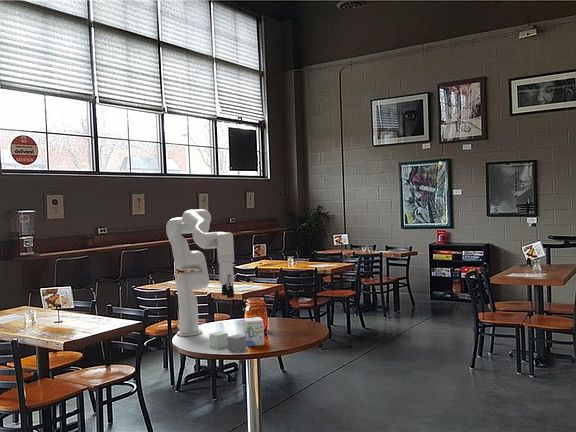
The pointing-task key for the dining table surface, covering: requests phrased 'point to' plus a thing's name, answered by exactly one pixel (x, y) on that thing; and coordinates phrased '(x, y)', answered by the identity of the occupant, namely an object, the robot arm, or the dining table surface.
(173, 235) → the robot arm
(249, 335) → the ink box
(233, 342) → the slate block
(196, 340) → the dining table surface
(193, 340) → the dining table surface
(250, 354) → the dining table surface
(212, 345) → the sage block
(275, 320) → the dining table surface
